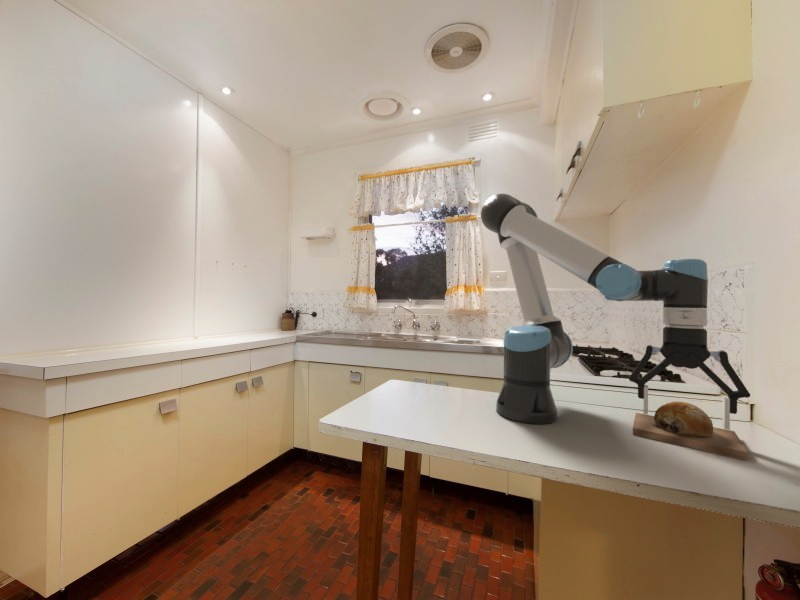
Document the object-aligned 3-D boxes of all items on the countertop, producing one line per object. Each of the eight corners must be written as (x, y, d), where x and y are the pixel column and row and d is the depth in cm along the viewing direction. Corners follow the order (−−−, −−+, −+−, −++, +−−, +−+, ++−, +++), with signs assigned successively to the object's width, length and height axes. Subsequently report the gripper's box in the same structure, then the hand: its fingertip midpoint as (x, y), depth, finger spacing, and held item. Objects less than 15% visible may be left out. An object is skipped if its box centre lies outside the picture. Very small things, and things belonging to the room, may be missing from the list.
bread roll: (716, 457, 66) (735, 424, 66) (666, 431, 68) (684, 399, 67) (683, 437, 76) (700, 409, 75) (640, 416, 78) (656, 387, 77)
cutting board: (632, 434, 72) (632, 427, 72) (635, 418, 83) (635, 412, 83) (748, 460, 61) (748, 452, 61) (734, 437, 71) (734, 431, 71)
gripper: (617, 324, 77) (615, 411, 77) (771, 331, 61) (771, 440, 61) (619, 323, 83) (618, 404, 83) (761, 329, 67) (761, 429, 67)
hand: (683, 419), depth 72 cm, fingers open, 13 cm apart
